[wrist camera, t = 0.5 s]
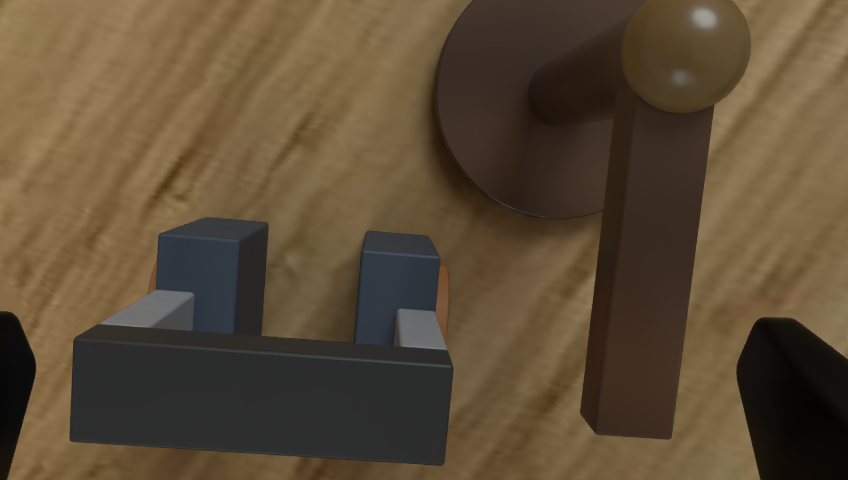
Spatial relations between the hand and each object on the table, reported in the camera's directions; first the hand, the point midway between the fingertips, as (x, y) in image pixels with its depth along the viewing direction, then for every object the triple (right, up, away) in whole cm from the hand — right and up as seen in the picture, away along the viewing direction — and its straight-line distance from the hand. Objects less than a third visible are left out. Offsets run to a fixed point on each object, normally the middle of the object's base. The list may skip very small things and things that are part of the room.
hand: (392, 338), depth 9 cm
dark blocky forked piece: (-3, -1, +14) cm, 15 cm away
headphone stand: (+4, +4, +14) cm, 16 cm away
